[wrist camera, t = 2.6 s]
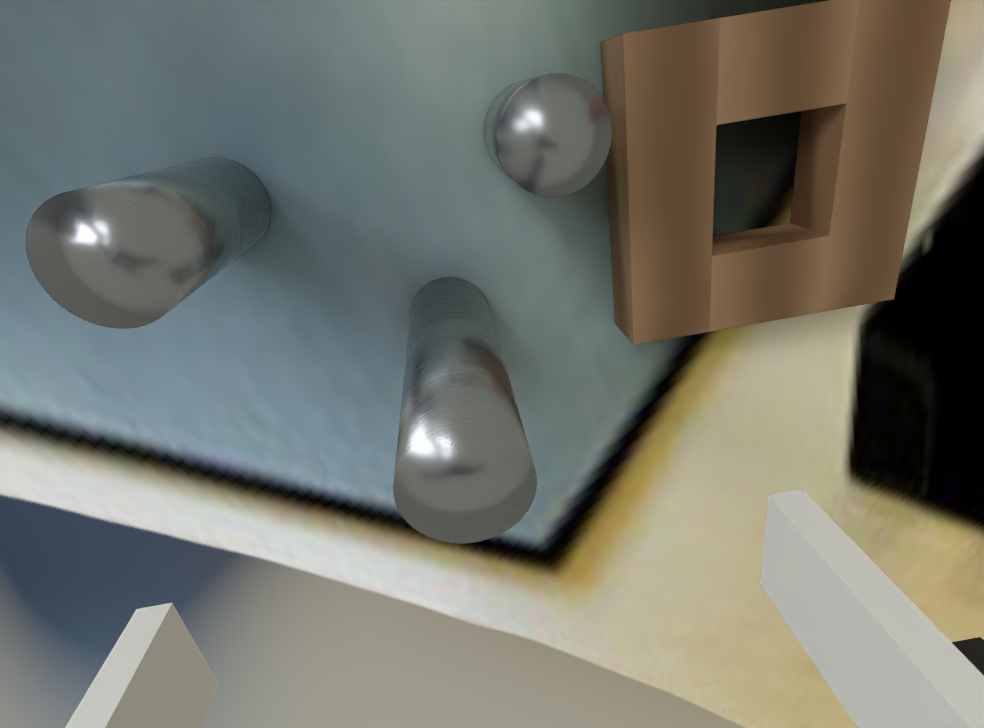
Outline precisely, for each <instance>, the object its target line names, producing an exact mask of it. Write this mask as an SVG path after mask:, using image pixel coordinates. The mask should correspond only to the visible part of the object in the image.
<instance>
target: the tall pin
mask: <svg viewBox="0 0 984 728" xmlns="http://www.w3.org/2000/svg"><path fill="white" fill-rule="evenodd" d="M536 485H537V479H536V472H535V468H534V464H533V461H532V457H531V454H530V450H529V447H528V443H527V440H526V436H525V433H524V429H523V426H522V422H521V419H520V415H519V412H518V408H517V405H516V401H515V398H514V394H513V391H512V387H511V384H510V380H509V377H508V373H507V370H506V366H505V363H504V359H503V356H502V352H501V349H500V345H499V342H498V338H497V335H496V331H495V328H494V324H493V321H492V317H491V314H490V310H489V307H488V303H487V301H486V298H485V297H484V295H483V293H482V292H481V291H480V290H479V289H478V288H477V287H476V286H475V285H474V284H472V283H470V282H469V281H466V280H464V279H460V278H455V277H445V278H440V279H436V280H434V281H432V282H430V283H428V284H427V285H425V286H424V287H423V288H422V289H421V290H420V291H419V292H418V293H417V295H416V297H415V298H414V301H413V303H412V307H411V314H410V325H409V335H408V345H407V355H406V365H405V375H404V385H403V395H402V405H401V415H400V425H399V435H398V445H397V455H396V465H395V475H394V485H393V489H394V498H395V502H396V505H397V508H398V510H399V512H400V513H401V515H402V516H403V518H404V519H405V520H406V521H407V522H408V523H409V524H410V525H411V526H412V527H413V528H414V529H416V530H417V531H418V532H420V533H422V534H424V535H426V536H428V537H430V538H433V539H436V540H439V541H444V542H449V543H472V542H478V541H483V540H487V539H489V538H492V537H495V536H497V535H499V534H501V533H503V532H505V531H506V530H508V529H510V528H511V527H512V526H514V525H515V524H516V523H517V522H518V521H519V520H520V519H521V518H522V517H523V516H524V515H525V513H526V512H527V511H528V509H529V507H530V506H531V504H532V501H533V499H534V496H535V492H536Z"/></svg>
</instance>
